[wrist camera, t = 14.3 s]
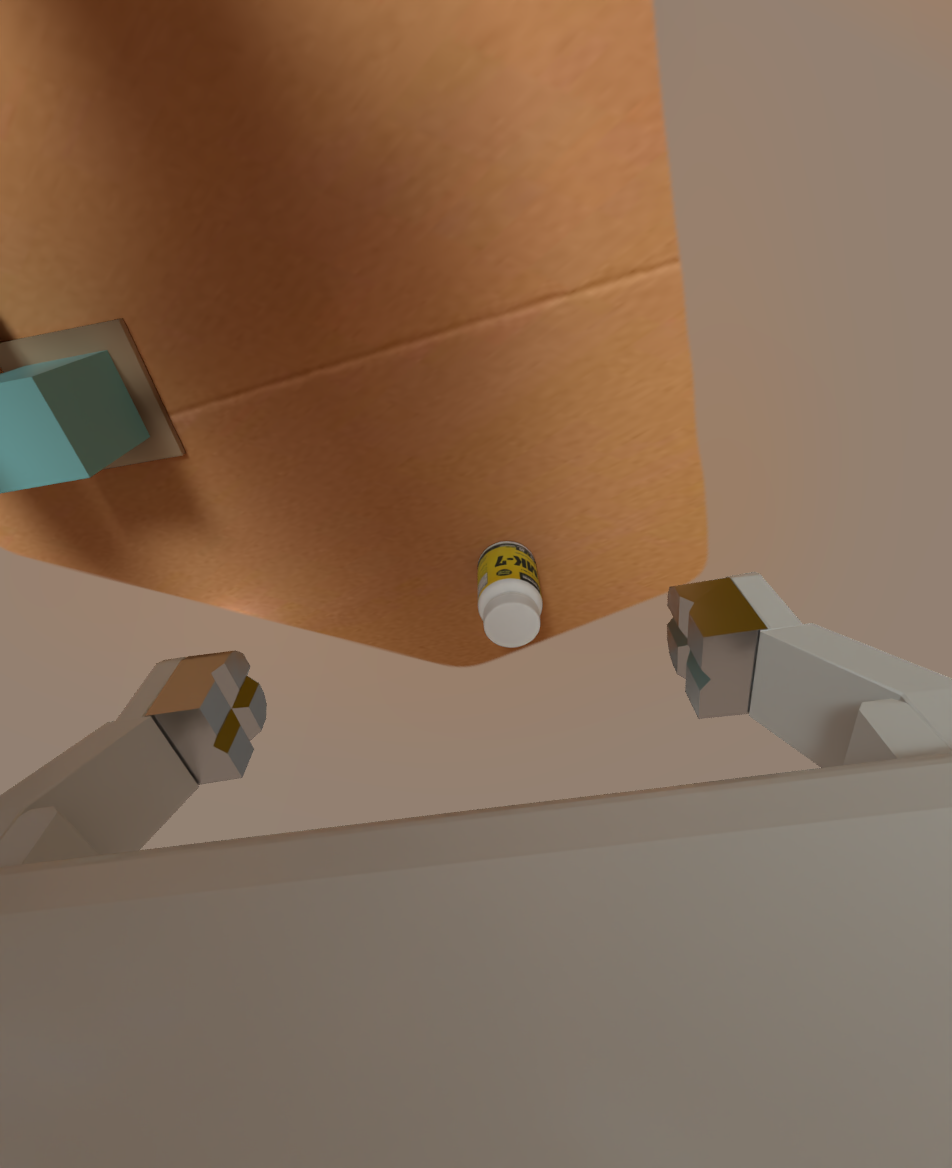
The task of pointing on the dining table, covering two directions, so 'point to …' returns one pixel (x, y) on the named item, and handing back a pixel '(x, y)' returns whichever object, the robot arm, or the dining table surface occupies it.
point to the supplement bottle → (509, 594)
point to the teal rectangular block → (64, 421)
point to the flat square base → (128, 366)
